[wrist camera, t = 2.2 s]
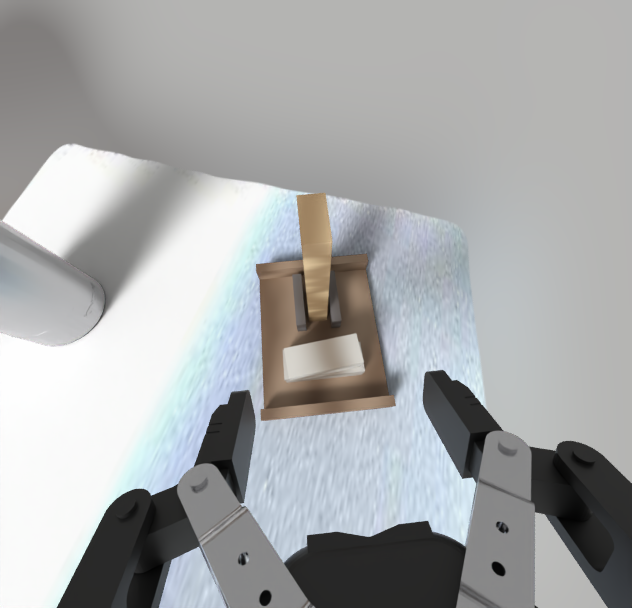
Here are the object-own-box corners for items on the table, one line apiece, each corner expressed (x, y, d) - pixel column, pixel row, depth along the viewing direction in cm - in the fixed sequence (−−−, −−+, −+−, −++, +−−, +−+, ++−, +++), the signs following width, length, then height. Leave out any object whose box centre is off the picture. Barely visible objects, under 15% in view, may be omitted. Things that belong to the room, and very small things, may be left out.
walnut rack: (266, 420, 31) (260, 420, 28) (260, 275, 37) (255, 262, 34) (389, 407, 32) (396, 405, 28) (363, 266, 38) (367, 251, 35)
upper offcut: (291, 381, 29) (288, 378, 27) (286, 354, 30) (283, 348, 28) (360, 366, 30) (363, 362, 27) (353, 340, 31) (356, 333, 28)
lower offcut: (286, 382, 32) (284, 379, 29) (285, 354, 33) (282, 349, 30) (361, 374, 32) (364, 371, 29) (357, 347, 33) (360, 341, 31)
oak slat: (309, 321, 34) (301, 244, 19) (306, 290, 35) (296, 195, 21) (326, 320, 34) (332, 241, 19) (322, 288, 36) (325, 192, 21)
